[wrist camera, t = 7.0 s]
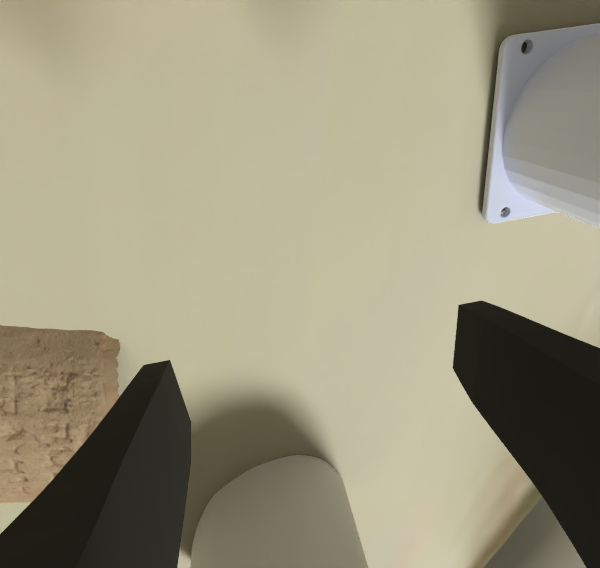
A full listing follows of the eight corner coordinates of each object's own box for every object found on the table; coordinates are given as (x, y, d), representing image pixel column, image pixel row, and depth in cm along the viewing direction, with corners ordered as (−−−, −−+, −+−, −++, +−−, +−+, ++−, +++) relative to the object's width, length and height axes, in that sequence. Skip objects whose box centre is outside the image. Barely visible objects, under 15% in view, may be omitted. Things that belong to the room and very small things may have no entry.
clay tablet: (-119, 297, 18) (-173, 332, 15) (125, 308, 20) (112, 340, 17) (-46, 507, 24) (-76, 555, 22) (133, 498, 26) (124, 540, 24)
